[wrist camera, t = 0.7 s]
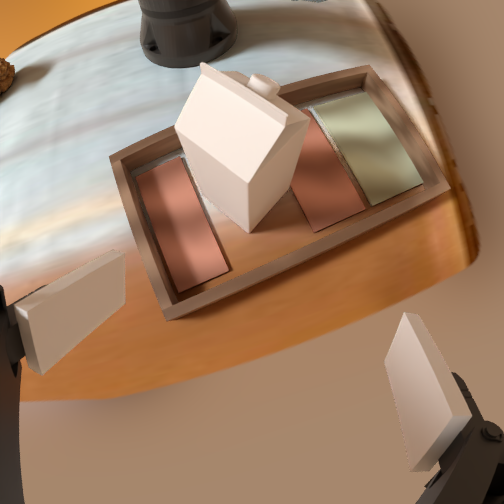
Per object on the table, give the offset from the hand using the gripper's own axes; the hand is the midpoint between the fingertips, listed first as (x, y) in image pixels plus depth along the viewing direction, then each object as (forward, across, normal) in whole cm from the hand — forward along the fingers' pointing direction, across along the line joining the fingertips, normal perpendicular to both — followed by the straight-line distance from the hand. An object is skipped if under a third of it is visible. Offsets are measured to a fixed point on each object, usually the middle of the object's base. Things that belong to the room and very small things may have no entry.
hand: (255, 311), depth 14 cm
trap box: (+25, -2, +4) cm, 26 cm away
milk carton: (+24, -6, +2) cm, 24 cm away
